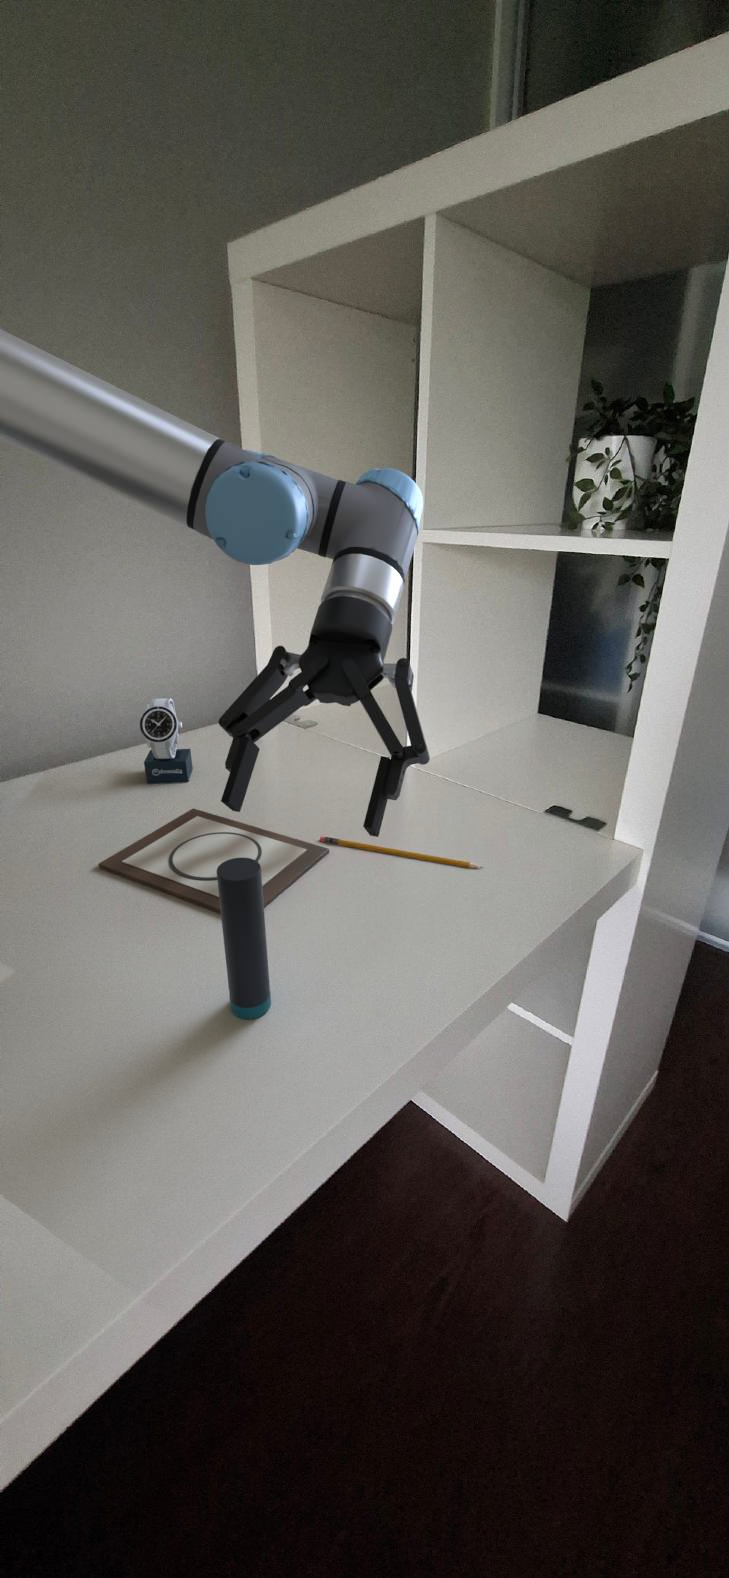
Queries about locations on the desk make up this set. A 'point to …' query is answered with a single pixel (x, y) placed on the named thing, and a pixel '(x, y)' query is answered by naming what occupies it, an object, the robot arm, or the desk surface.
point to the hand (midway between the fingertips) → (298, 819)
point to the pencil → (398, 852)
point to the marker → (244, 936)
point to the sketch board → (211, 857)
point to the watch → (164, 744)
